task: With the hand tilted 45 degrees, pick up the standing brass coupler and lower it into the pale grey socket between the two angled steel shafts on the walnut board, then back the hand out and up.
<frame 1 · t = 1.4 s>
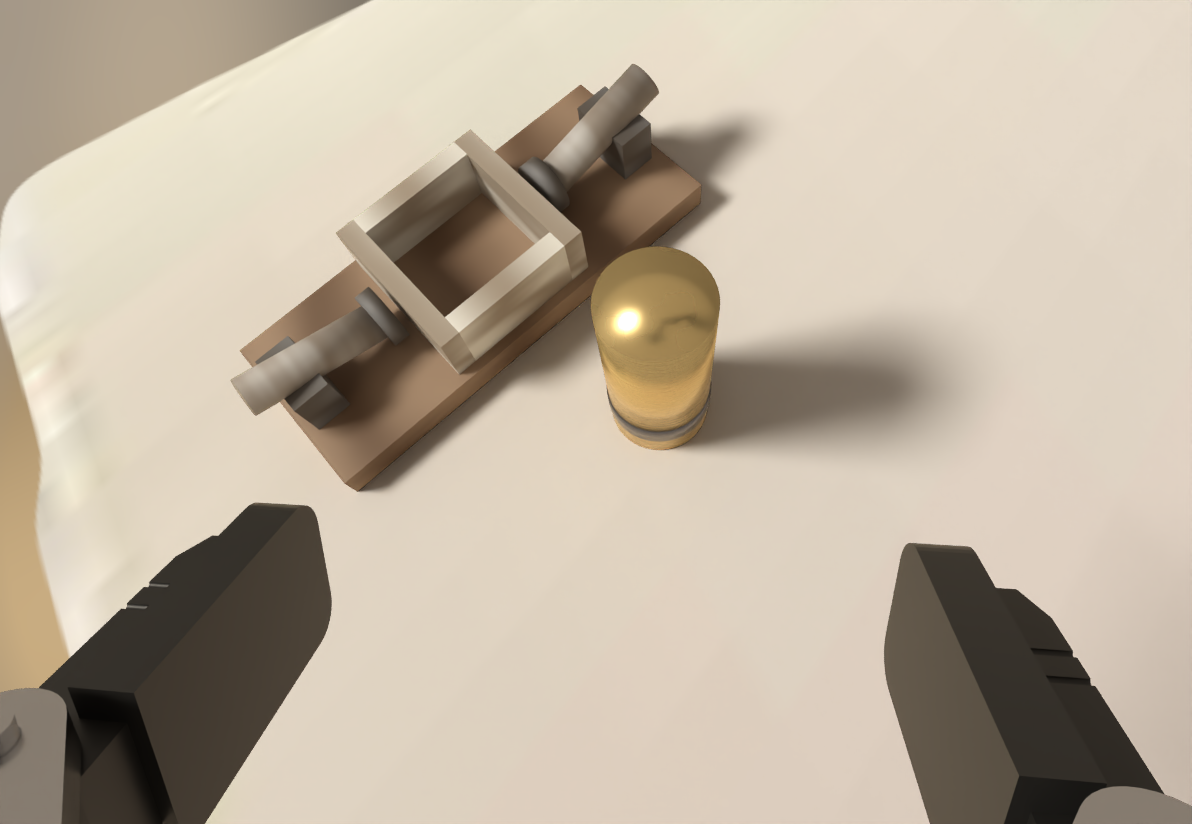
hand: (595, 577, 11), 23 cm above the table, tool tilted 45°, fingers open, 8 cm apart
shaft rig: (479, 282, 39), on the table
brass coupler: (659, 404, 36), on the table
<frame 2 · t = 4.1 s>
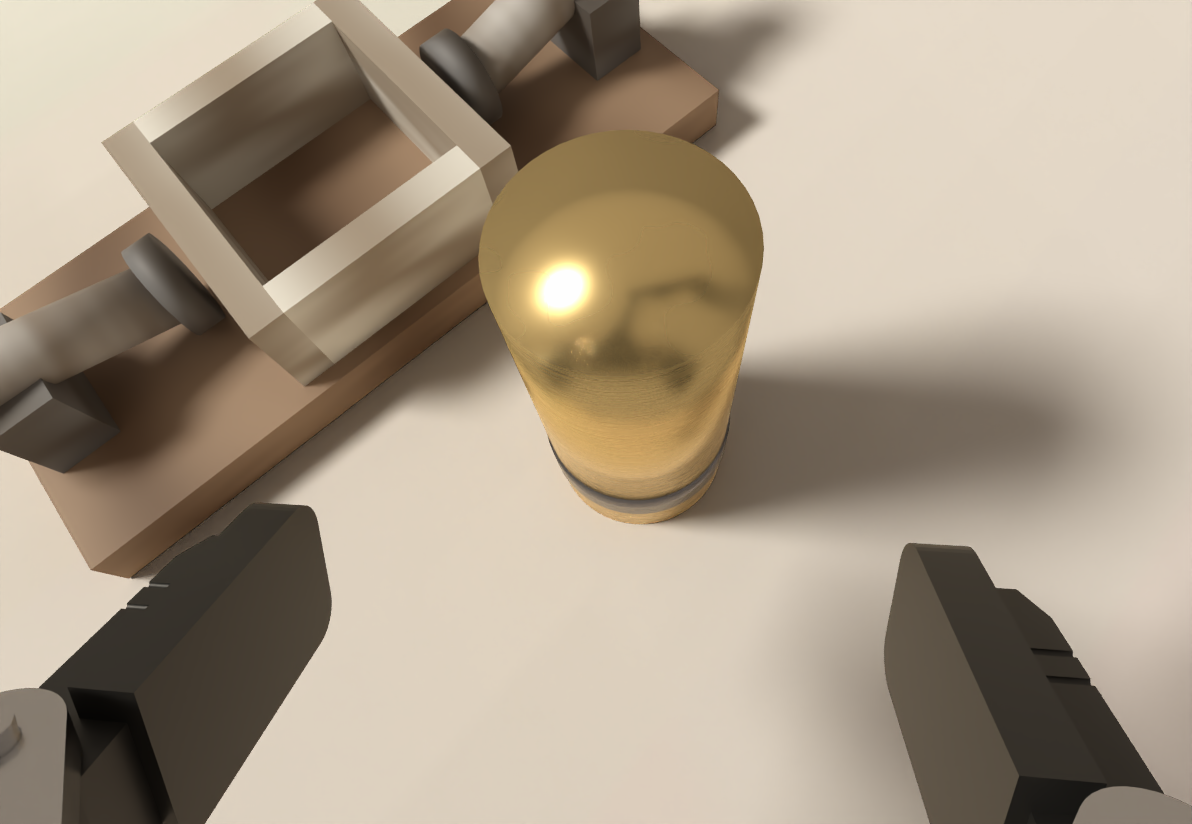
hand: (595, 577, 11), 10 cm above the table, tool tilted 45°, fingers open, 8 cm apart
shaft rig: (363, 239, 24), on the table
brass coupler: (640, 445, 21), on the table
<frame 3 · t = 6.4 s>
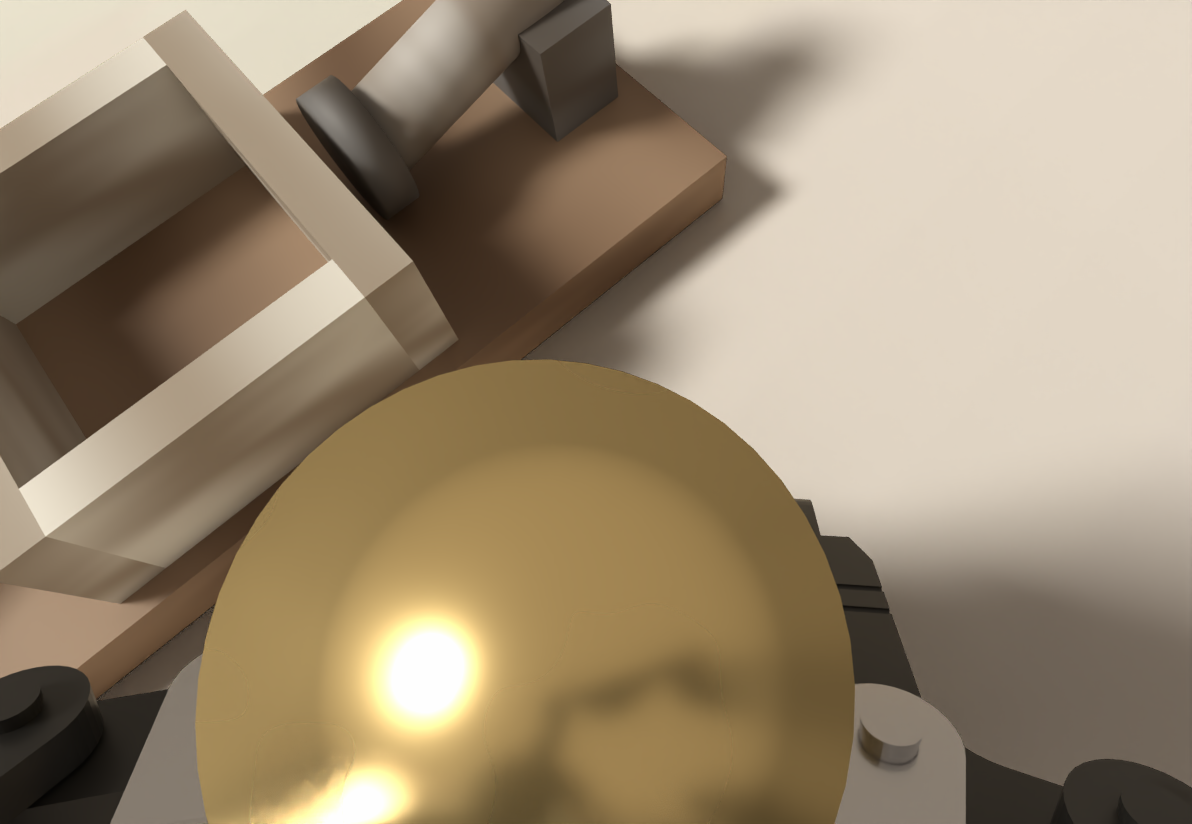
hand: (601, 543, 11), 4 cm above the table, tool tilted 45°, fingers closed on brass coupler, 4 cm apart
shaft rig: (235, 359, 18), on the table
brass coupler: (612, 685, 14), on the table, touching gripper
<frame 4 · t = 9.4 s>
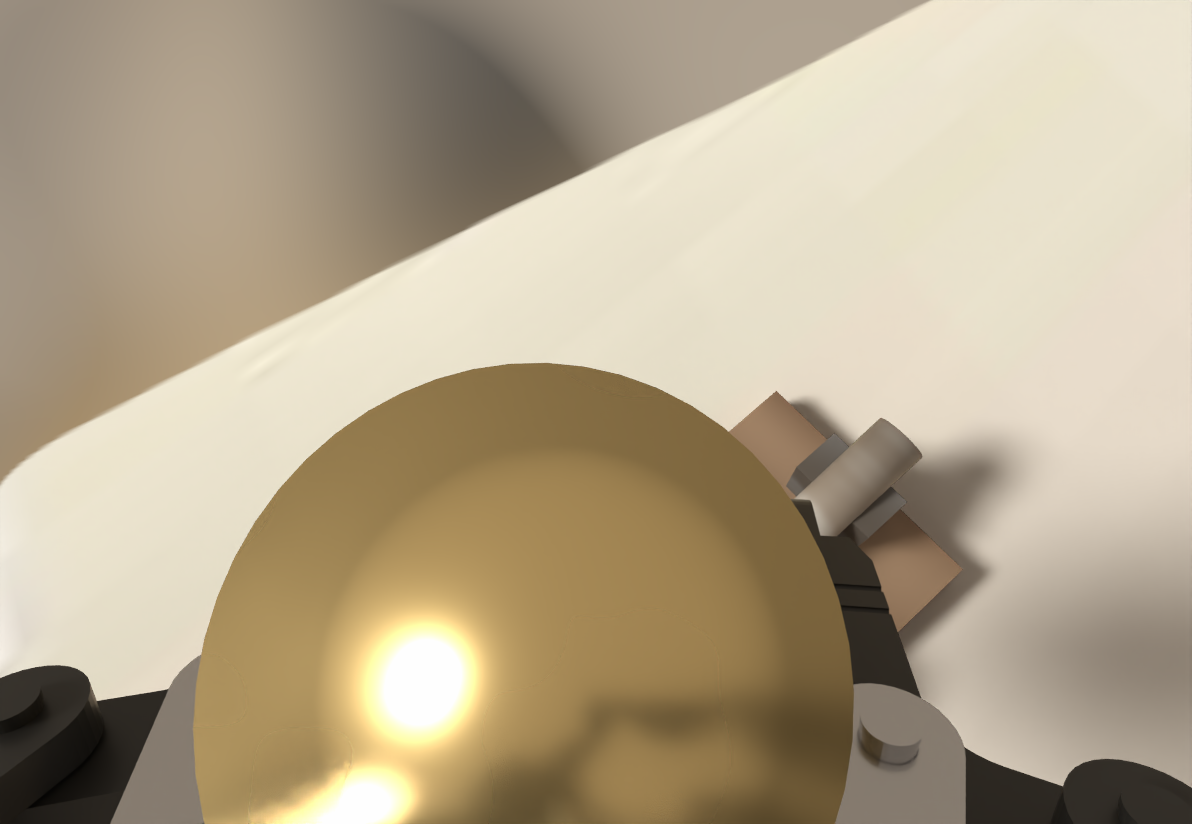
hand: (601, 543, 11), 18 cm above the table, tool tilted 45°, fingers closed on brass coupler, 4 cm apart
shaft rig: (640, 682, 28), on the table
brass coupler: (612, 687, 14), point 14 cm above the table, touching gripper
when the fingers open (6 cm above the table, at t = 12.6 s): brass coupler stays where it is, resting on shaft rig.
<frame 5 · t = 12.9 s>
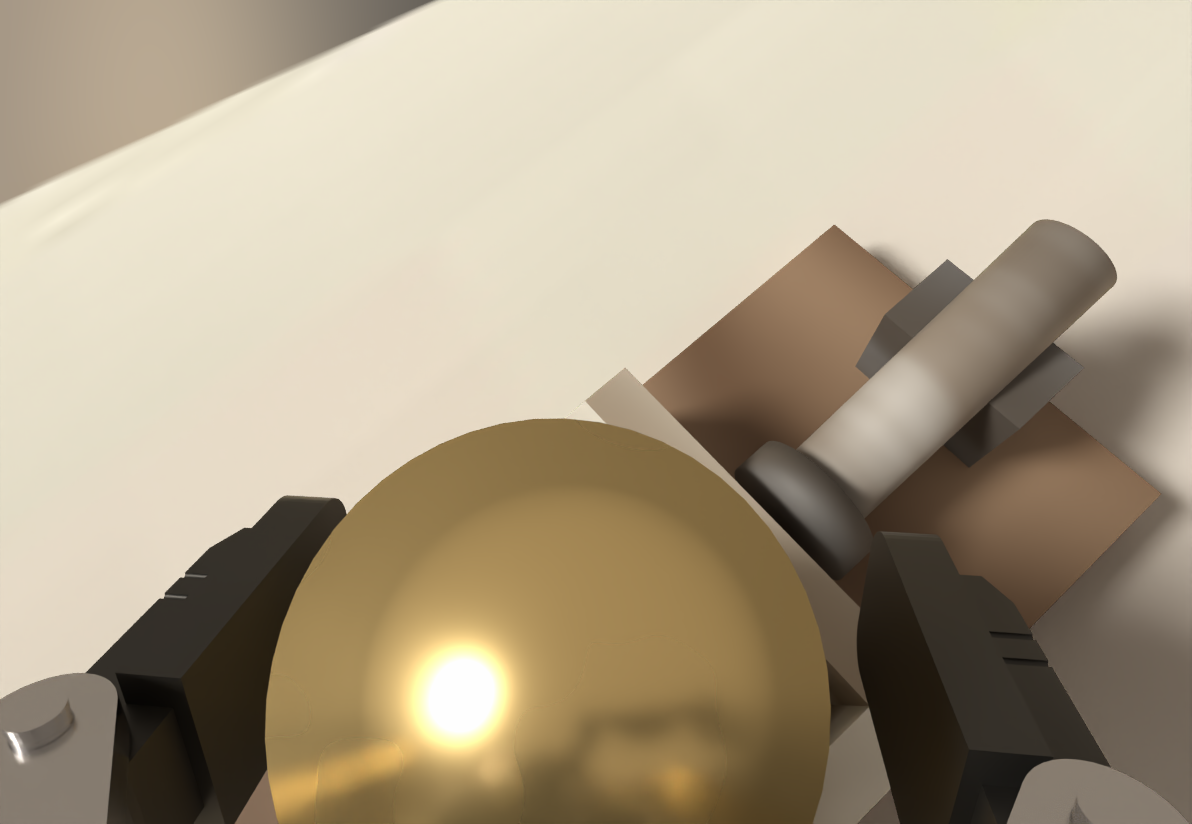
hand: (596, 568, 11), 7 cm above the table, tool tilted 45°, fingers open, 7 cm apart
shaft rig: (618, 687, 17), on the table
brass coupler: (615, 693, 15), point 2 cm above the table, touching shaft rig
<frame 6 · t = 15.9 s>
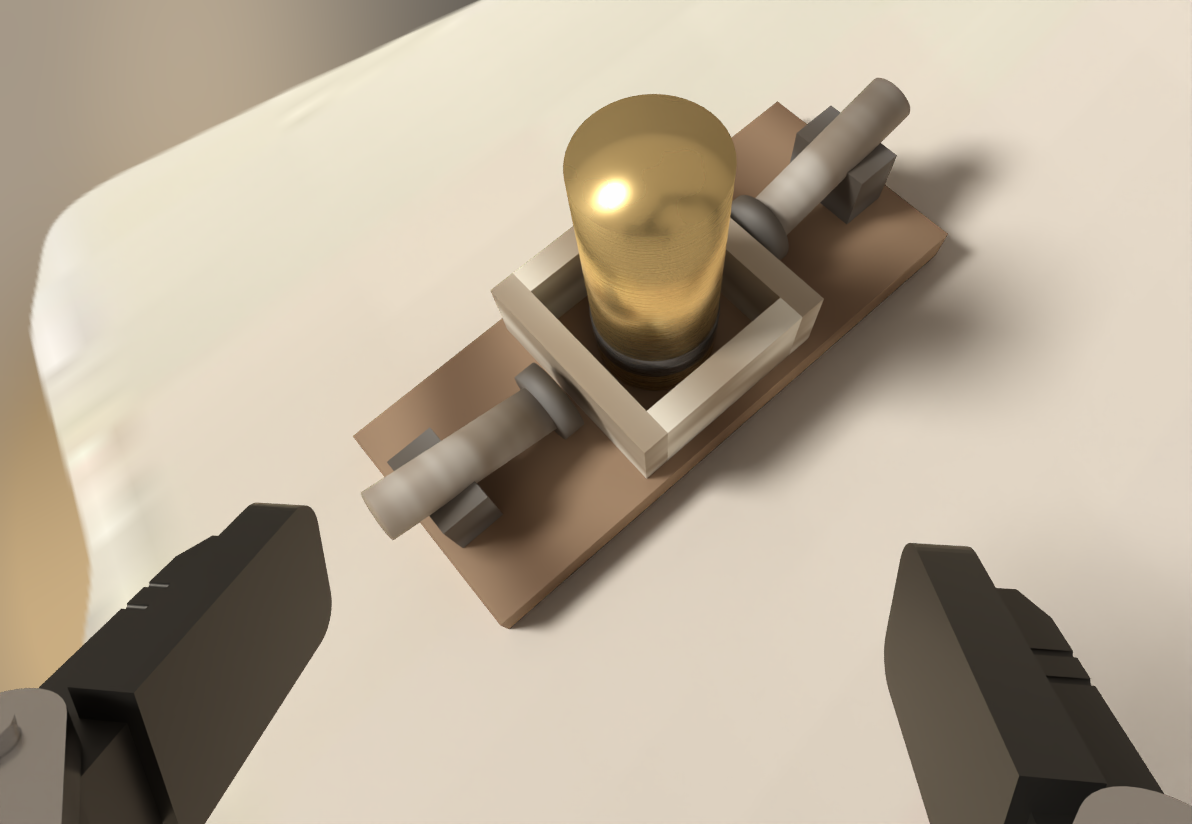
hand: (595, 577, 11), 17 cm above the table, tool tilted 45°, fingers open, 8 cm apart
shaft rig: (655, 350, 30), on the table
brass coupler: (655, 336, 29), point 2 cm above the table, touching shaft rig
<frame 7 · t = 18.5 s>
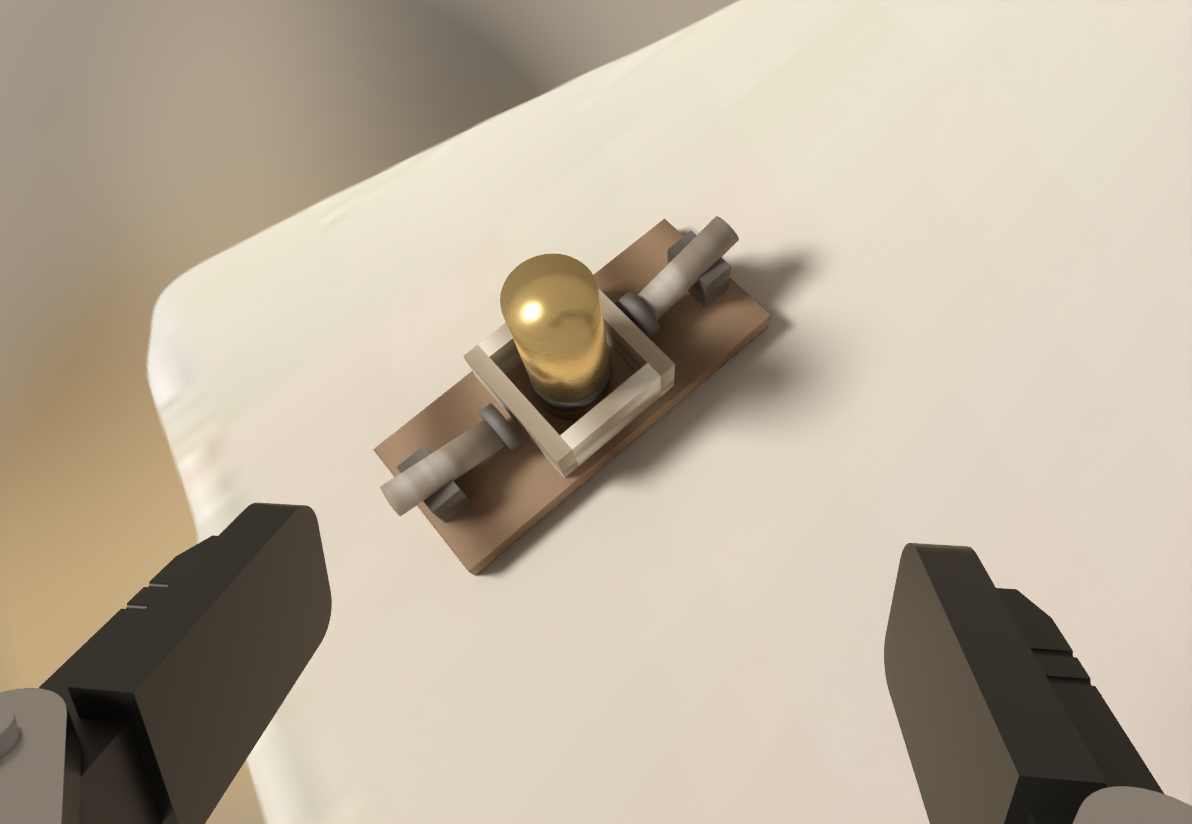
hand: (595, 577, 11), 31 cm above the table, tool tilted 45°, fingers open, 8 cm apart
shaft rig: (576, 391, 45), on the table
brass coupler: (574, 383, 43), point 2 cm above the table, touching shaft rig
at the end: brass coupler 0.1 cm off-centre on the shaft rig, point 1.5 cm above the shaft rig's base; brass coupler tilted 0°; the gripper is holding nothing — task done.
